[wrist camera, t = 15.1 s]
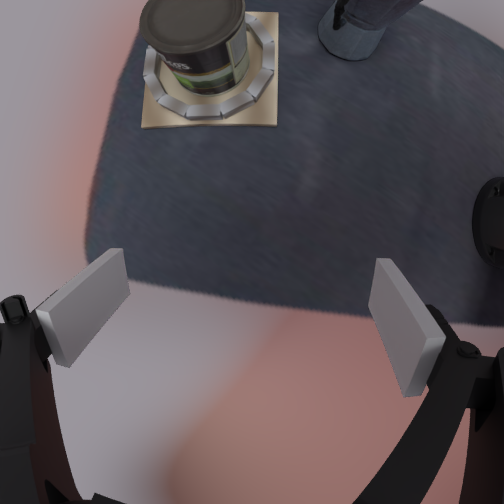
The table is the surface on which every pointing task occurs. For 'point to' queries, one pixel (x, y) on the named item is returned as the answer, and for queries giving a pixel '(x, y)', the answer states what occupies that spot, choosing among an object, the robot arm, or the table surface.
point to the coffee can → (199, 42)
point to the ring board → (226, 105)
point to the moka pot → (359, 25)
